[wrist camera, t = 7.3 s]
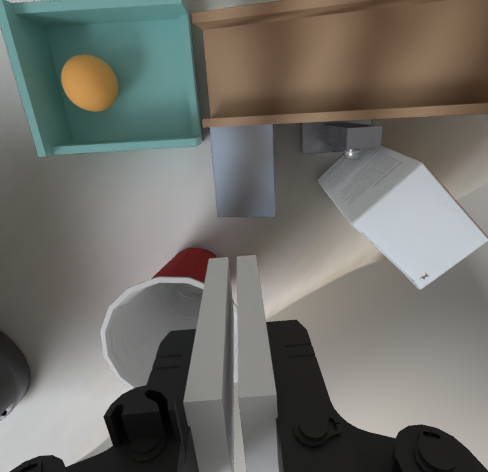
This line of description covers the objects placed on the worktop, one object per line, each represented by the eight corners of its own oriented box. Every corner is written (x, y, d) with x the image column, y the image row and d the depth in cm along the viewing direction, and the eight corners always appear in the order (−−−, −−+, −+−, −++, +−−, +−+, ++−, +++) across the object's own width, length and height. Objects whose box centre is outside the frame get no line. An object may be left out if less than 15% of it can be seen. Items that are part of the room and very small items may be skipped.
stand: (301, 152, 29) (319, 165, 22) (303, -20, 24) (327, -71, 18) (366, 149, 29) (404, 160, 22) (381, -25, 24) (435, -78, 17)
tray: (71, 149, 29) (38, 156, 24) (38, 19, 25) (-8, -2, 20) (202, 141, 29) (195, 147, 24) (189, 10, 25) (177, -13, 20)
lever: (222, 211, 29) (208, 226, 25) (206, 23, 24) (185, 8, 20) (498, 215, 24) (529, 234, 20) (558, -22, 19) (616, -52, 15)
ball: (129, 110, 27) (82, 112, 27) (119, 57, 26) (70, 60, 26) (112, 110, 23) (58, 113, 23) (100, 48, 22) (43, 51, 22)
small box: (413, 191, 30) (494, 241, 21) (367, 230, 32) (422, 293, 22) (361, 133, 28) (425, 159, 18) (314, 179, 30) (350, 225, 20)
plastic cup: (237, 213, 31) (236, 270, 20) (255, 304, 35) (262, 395, 24) (131, 231, 32) (72, 296, 20) (160, 319, 36) (124, 414, 24)
